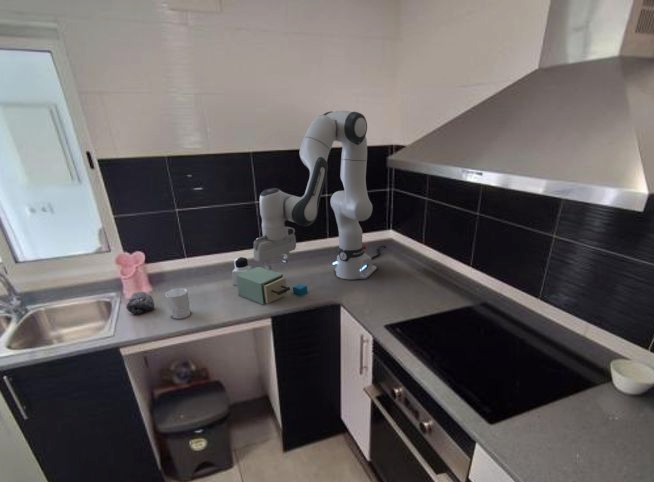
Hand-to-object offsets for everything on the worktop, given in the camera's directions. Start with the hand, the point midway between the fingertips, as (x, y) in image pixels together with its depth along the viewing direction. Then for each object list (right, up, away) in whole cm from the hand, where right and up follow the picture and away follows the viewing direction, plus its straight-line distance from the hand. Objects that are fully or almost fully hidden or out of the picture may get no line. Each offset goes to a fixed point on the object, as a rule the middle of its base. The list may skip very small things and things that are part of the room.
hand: (277, 266), depth 154 cm
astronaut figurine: (-20, -5, +26) cm, 33 cm away
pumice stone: (-56, -18, +2) cm, 59 cm away
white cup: (-38, -20, -2) cm, 43 cm away
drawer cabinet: (-9, -11, +14) cm, 20 cm away
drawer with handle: (-5, -12, +11) cm, 17 cm away
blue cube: (+8, -10, +15) cm, 20 cm away
